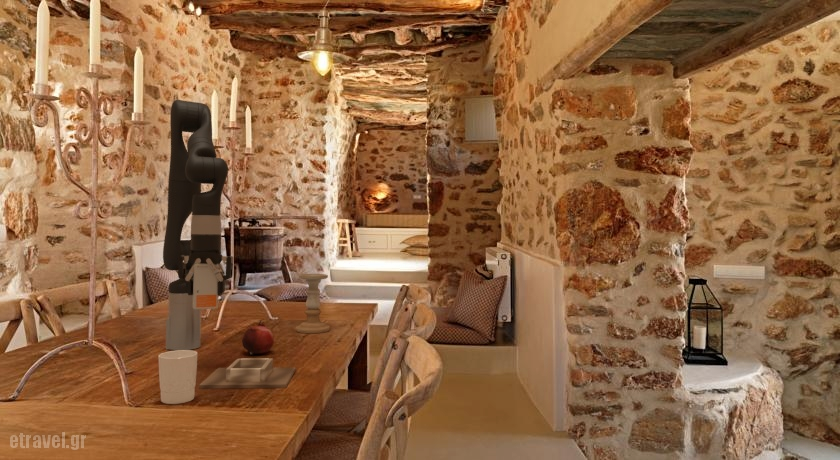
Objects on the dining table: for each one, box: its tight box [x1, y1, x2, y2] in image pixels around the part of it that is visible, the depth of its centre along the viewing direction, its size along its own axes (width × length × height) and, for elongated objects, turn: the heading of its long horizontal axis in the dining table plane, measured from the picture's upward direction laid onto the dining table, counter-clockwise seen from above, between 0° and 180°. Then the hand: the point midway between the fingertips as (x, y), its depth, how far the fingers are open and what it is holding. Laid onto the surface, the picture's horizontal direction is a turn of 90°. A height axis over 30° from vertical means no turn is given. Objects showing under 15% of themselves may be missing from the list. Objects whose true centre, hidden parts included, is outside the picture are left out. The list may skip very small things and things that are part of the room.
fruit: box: [241, 320, 275, 356], centre depth 168 cm, size 9×10×10 cm
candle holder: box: [295, 273, 331, 334], centre depth 205 cm, size 12×12×20 cm
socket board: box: [198, 357, 297, 390], centre depth 140 cm, size 20×16×4 cm
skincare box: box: [192, 263, 220, 310], centre depth 149 cm, size 6×4×12 cm
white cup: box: [157, 349, 199, 405], centre depth 124 cm, size 8×8×10 cm
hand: (205, 295), depth 149 cm, fingers closed on skincare box, 7 cm apart
